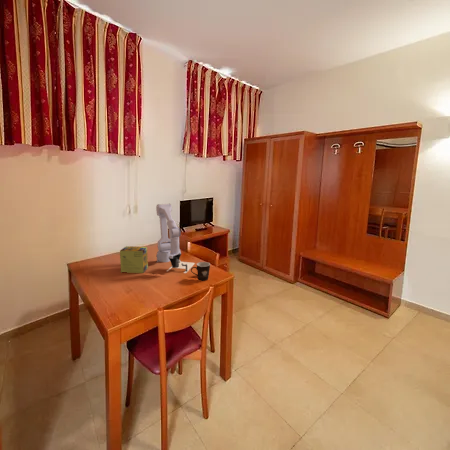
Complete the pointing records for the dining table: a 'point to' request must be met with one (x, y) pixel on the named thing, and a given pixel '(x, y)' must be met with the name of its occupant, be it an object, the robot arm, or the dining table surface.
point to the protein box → (134, 259)
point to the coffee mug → (202, 270)
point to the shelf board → (184, 266)
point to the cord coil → (177, 264)
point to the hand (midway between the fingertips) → (175, 265)
